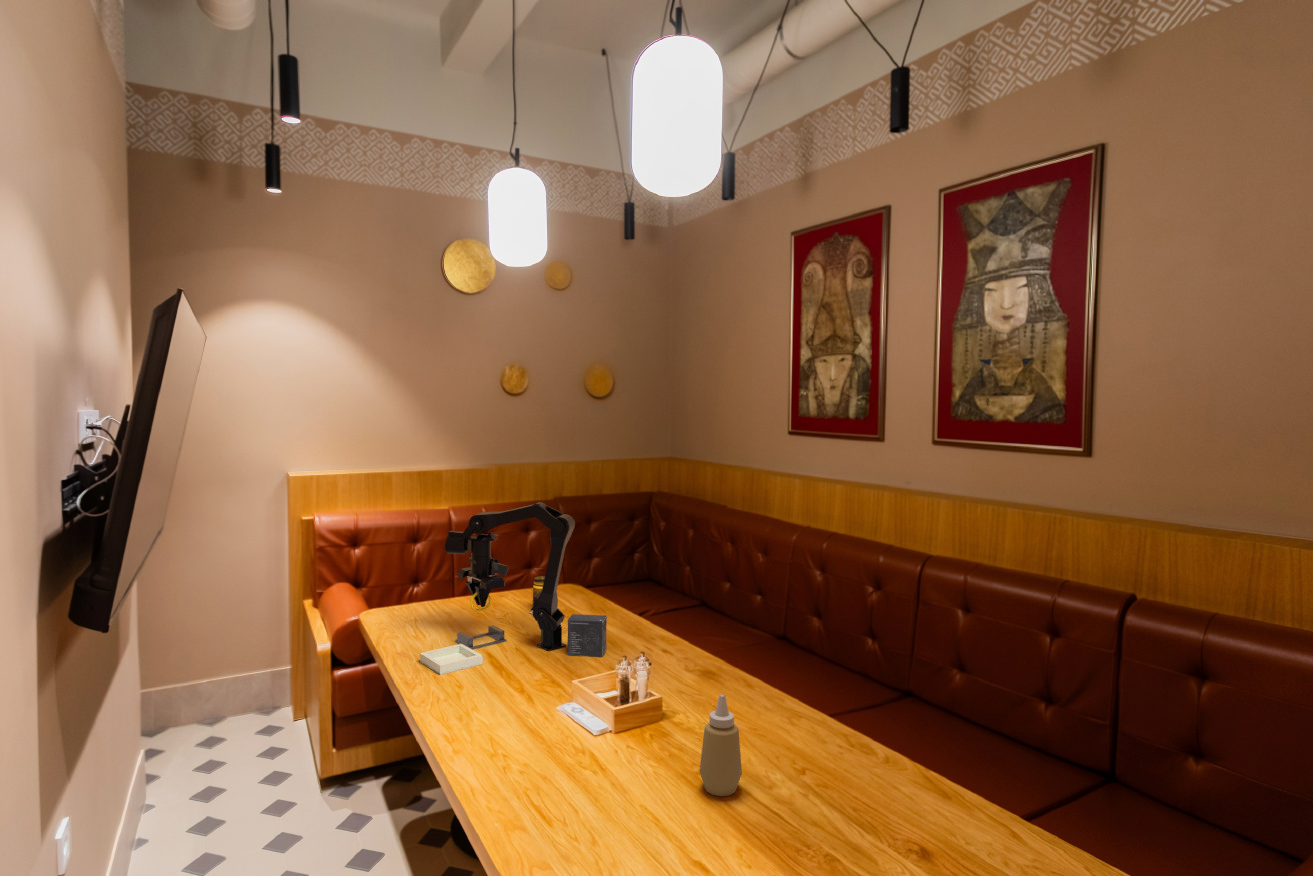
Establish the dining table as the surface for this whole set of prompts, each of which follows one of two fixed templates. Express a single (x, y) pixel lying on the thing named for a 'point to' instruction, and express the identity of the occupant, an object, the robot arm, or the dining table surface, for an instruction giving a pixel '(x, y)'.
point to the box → (587, 635)
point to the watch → (482, 608)
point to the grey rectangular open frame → (492, 632)
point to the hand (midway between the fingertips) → (480, 606)
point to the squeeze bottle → (721, 752)
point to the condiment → (537, 586)
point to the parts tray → (450, 659)
